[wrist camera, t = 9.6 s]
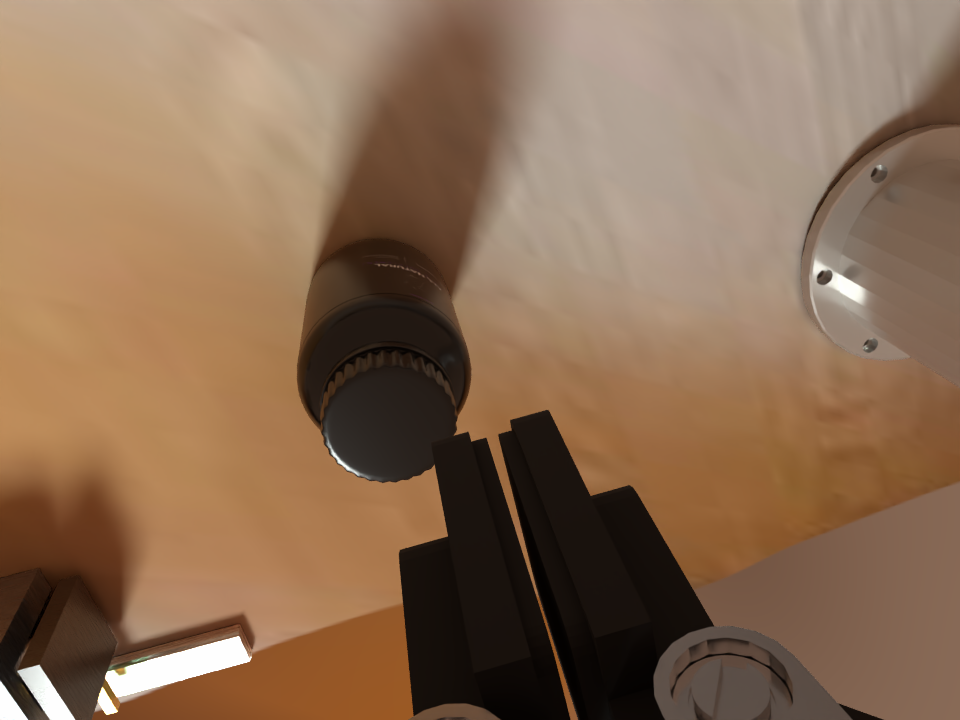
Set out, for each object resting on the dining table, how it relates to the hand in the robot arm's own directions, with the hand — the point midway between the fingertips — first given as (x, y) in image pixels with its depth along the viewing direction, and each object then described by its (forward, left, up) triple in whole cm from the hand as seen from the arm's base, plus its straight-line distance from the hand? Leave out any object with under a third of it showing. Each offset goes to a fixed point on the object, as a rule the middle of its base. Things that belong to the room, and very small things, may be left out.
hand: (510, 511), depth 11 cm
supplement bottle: (+2, +7, -27) cm, 28 cm away
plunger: (+27, +21, -26) cm, 43 cm away
